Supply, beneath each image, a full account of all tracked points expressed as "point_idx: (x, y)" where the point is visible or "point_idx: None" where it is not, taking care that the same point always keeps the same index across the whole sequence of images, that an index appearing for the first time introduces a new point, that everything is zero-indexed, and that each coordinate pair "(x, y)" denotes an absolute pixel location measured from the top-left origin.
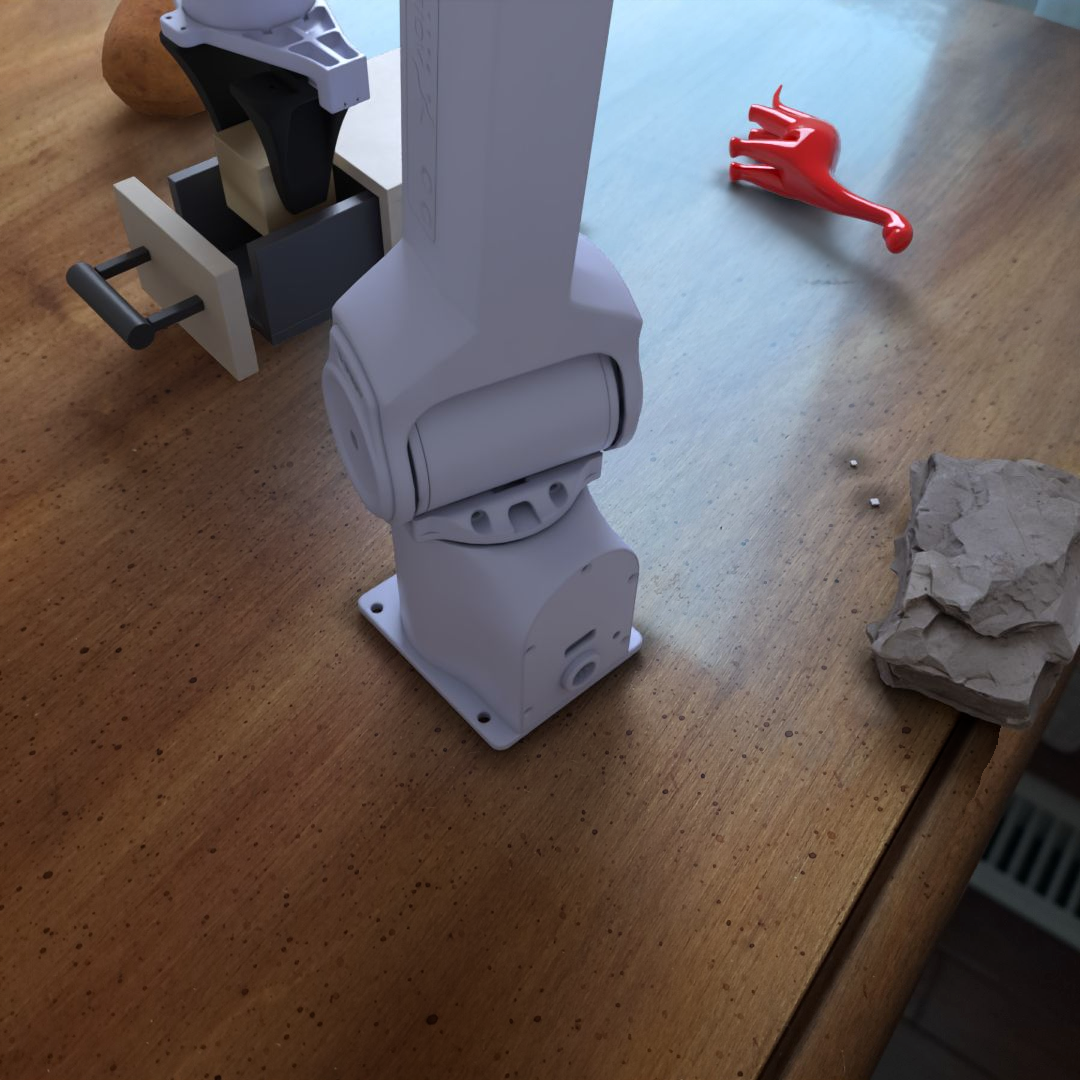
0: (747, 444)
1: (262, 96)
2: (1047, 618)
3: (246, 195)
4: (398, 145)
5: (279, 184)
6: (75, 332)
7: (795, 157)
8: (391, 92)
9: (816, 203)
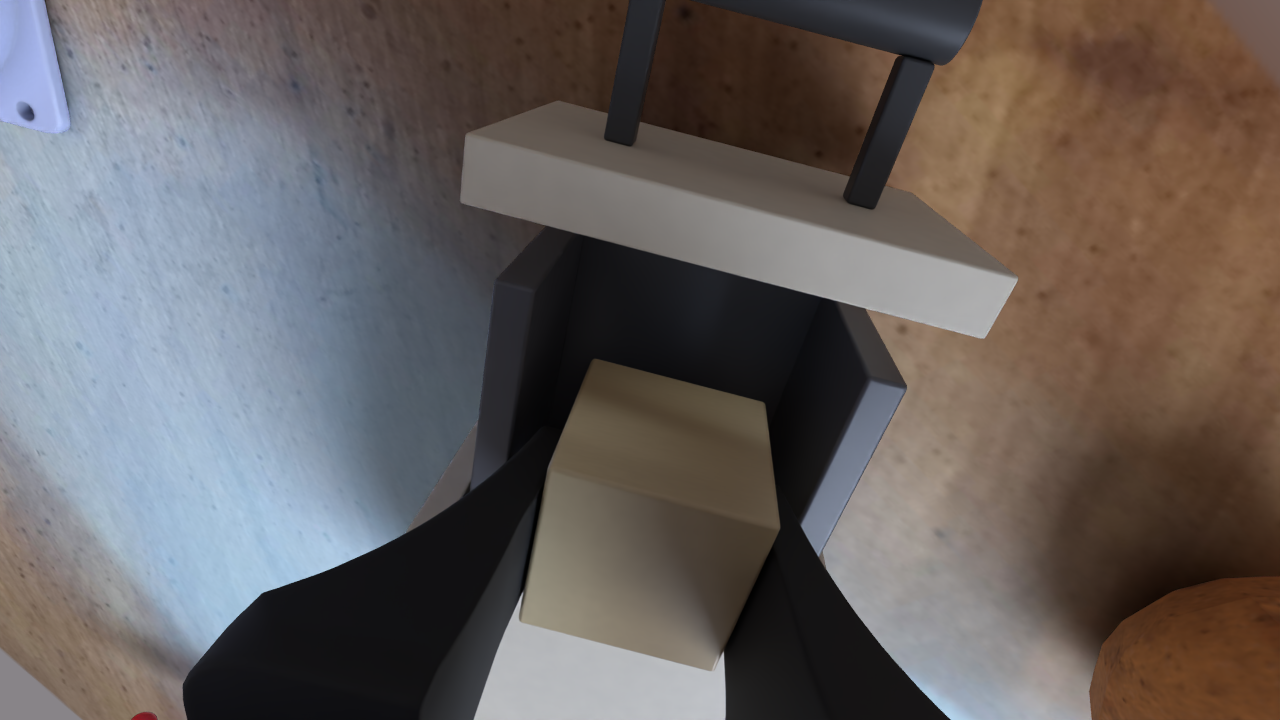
0: (48, 422)
1: (239, 694)
2: None
3: (653, 419)
4: (495, 663)
5: (524, 463)
6: (984, 23)
7: None
8: None
9: None
